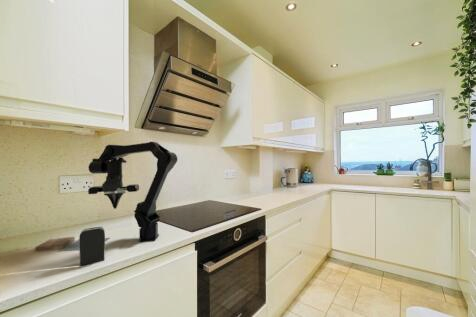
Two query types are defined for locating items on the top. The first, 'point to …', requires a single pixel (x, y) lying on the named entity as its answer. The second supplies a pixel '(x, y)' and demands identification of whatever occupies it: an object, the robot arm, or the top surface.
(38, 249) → the board
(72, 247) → the mat
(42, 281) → the top surface
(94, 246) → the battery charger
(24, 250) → the top surface
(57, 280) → the top surface
